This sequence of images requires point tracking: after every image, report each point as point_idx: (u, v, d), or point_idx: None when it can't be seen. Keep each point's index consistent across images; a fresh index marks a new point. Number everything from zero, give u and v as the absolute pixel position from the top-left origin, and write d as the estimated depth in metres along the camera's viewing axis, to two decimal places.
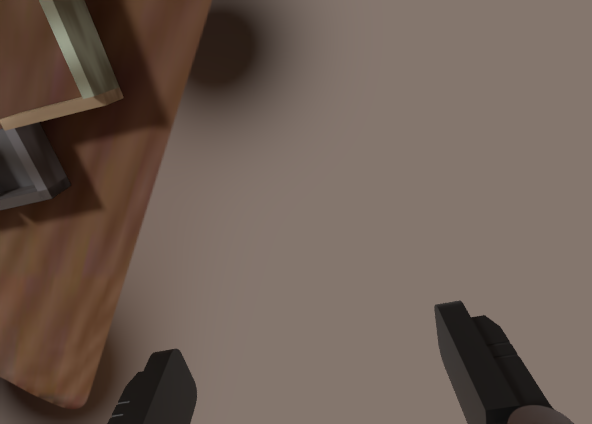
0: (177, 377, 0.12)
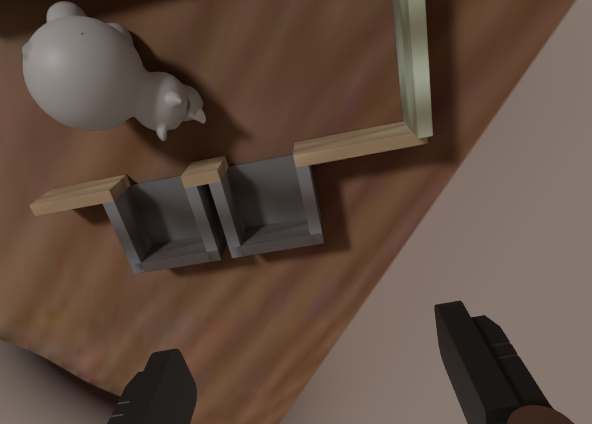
0: (177, 377, 0.12)
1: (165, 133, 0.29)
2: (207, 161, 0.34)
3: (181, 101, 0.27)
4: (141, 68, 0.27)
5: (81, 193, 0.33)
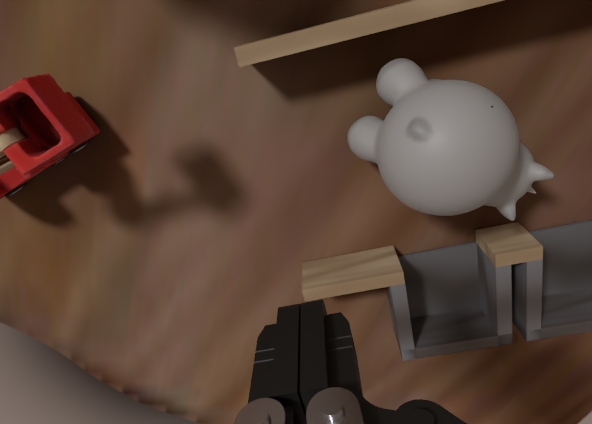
0: None
1: (515, 212, 0.24)
2: (501, 230, 0.29)
3: (553, 176, 0.22)
4: None
5: (363, 274, 0.28)
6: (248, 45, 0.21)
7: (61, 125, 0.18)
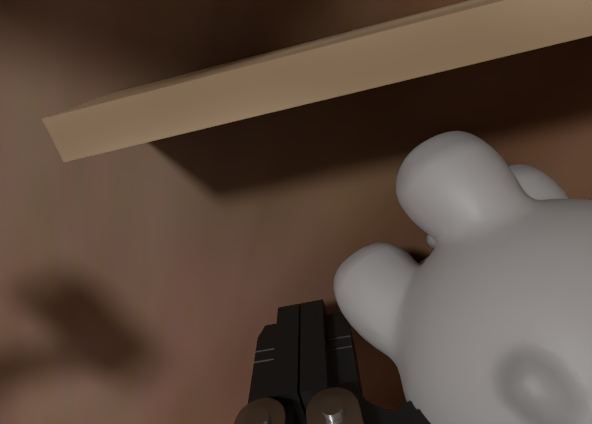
0: None
1: None
2: None
3: None
4: None
5: None
6: (76, 113, 0.09)
7: None
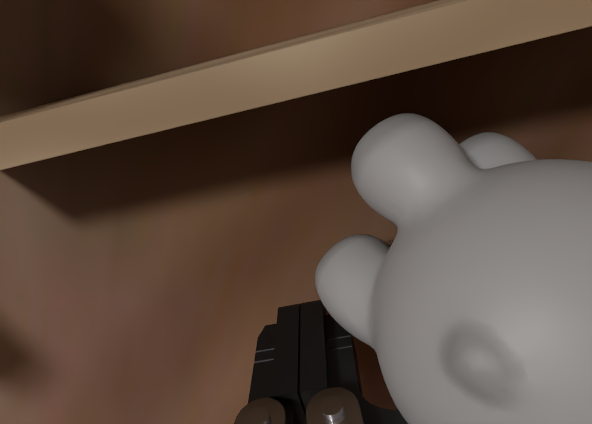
0: None
1: None
2: None
3: None
4: None
5: None
6: None
7: None
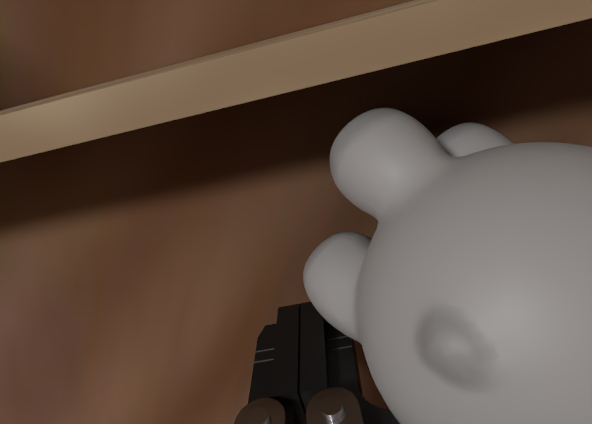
0: None
1: None
2: None
3: None
4: None
5: None
6: None
7: None
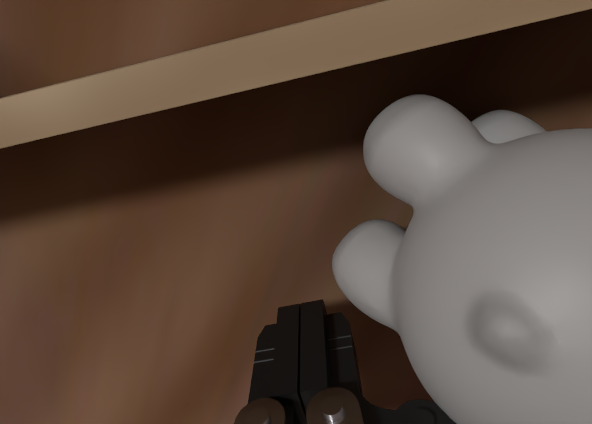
0: None
1: None
2: None
3: None
4: None
5: None
6: None
7: None
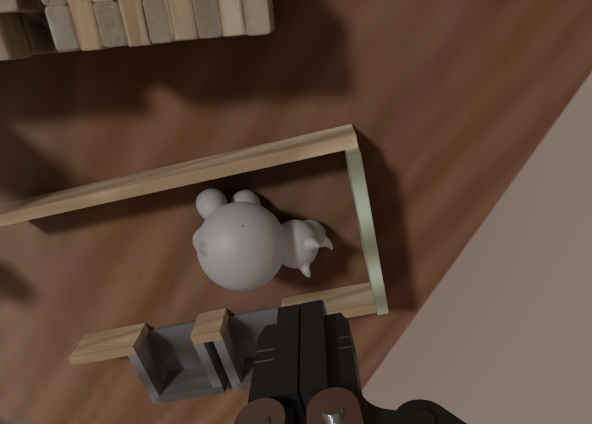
0: None
1: (309, 271, 0.34)
2: (211, 315, 0.42)
3: (319, 245, 0.33)
4: (282, 228, 0.33)
5: (110, 347, 0.41)
6: None
7: None
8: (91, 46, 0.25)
